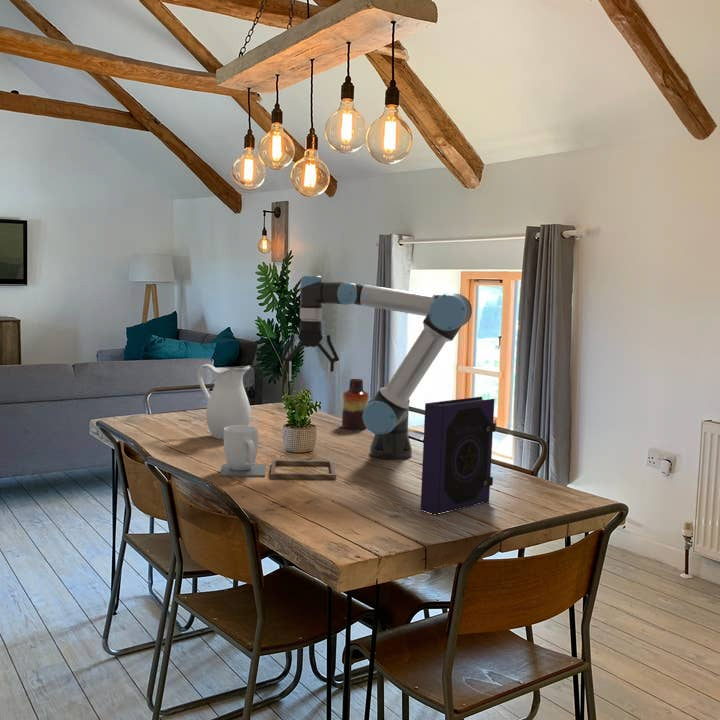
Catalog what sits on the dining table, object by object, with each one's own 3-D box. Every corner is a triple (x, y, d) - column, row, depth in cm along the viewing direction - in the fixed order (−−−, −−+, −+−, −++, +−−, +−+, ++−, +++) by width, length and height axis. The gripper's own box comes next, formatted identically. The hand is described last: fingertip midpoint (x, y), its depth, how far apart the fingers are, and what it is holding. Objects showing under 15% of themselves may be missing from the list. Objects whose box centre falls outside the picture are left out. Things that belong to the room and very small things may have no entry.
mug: (268, 473, 244) (269, 432, 243) (236, 477, 238) (237, 435, 236) (248, 462, 256) (249, 424, 255) (217, 466, 250) (218, 426, 249)
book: (436, 516, 207) (441, 406, 204) (419, 510, 212) (424, 402, 209) (491, 501, 223) (497, 399, 220) (474, 496, 227) (480, 396, 224)
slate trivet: (266, 465, 255) (266, 464, 255) (264, 476, 242) (265, 474, 242) (223, 465, 254) (223, 463, 254) (219, 476, 240) (219, 474, 240)
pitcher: (258, 436, 301) (260, 365, 298) (229, 443, 287) (230, 369, 284) (213, 428, 314) (214, 360, 311) (183, 434, 300) (184, 363, 297)
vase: (367, 430, 322) (369, 381, 319) (341, 429, 322) (343, 380, 319) (367, 425, 332) (369, 378, 330) (342, 424, 332) (344, 377, 330)
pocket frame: (332, 465, 260) (333, 460, 259) (336, 479, 241) (336, 474, 241) (272, 464, 258) (272, 459, 258) (270, 478, 240) (270, 473, 239)
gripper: (345, 320, 273) (344, 379, 275) (274, 318, 270) (273, 378, 273) (347, 321, 266) (345, 382, 268) (274, 320, 263) (273, 381, 265)
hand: (309, 380), depth 270 cm, fingers open, 13 cm apart
